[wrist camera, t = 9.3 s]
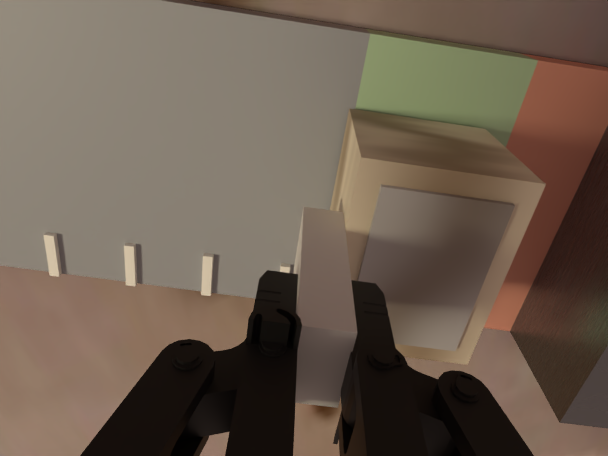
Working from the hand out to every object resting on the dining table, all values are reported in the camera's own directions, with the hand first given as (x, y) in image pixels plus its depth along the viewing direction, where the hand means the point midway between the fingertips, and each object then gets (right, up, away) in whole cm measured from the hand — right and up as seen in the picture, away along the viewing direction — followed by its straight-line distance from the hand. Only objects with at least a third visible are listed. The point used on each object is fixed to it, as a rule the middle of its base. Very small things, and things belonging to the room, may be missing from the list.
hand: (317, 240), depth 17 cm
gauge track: (-3, +4, +6) cm, 8 cm away
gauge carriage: (+4, +1, +5) cm, 6 cm away
